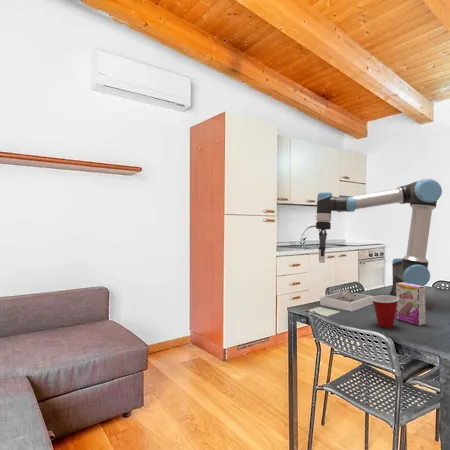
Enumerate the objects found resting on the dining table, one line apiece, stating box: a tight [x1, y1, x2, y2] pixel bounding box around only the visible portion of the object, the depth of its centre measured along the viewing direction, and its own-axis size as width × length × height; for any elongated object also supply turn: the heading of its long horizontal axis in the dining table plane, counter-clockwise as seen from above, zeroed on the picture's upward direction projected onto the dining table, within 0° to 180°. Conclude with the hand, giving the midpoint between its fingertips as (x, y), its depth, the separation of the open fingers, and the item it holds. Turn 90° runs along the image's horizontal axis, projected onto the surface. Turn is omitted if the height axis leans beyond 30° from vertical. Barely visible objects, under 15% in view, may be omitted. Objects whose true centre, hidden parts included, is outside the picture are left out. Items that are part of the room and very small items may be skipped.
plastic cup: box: [371, 294, 399, 329], centre depth 146 cm, size 11×11×12 cm
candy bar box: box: [395, 282, 427, 327], centre depth 150 cm, size 11×5×16 cm, turn 26°
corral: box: [319, 291, 374, 312], centre depth 182 cm, size 18×22×4 cm
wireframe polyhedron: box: [338, 288, 356, 303], centre depth 182 cm, size 9×8×10 cm
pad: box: [308, 306, 341, 317], centre depth 168 cm, size 12×11×1 cm
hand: (321, 262), depth 181 cm, fingers open, 13 cm apart
